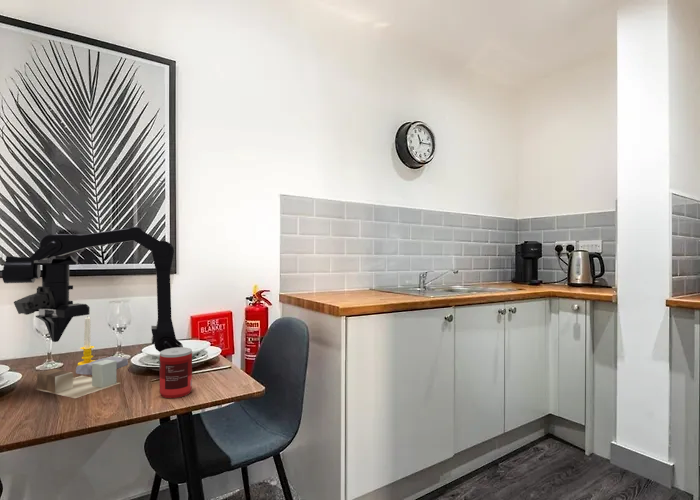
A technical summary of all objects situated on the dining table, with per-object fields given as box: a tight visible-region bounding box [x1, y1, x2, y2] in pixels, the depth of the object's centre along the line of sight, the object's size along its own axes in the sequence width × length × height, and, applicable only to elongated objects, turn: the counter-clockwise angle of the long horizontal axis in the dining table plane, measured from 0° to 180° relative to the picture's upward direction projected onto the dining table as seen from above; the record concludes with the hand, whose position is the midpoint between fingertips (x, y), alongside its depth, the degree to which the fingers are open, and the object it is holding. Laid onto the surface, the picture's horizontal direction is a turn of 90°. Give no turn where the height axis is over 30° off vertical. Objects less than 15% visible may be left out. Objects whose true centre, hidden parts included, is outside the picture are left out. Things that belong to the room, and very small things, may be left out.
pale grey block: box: [91, 359, 117, 388], centre depth 105 cm, size 4×4×6 cm
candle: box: [77, 315, 96, 366], centre depth 126 cm, size 5×5×16 cm
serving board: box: [35, 375, 121, 399], centre depth 104 cm, size 16×12×1 cm
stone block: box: [75, 356, 129, 376], centre depth 119 cm, size 12×5×10 cm
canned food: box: [159, 346, 193, 399], centre depth 101 cm, size 8×8×11 cm
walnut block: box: [36, 368, 74, 393], centre depth 102 cm, size 4×4×8 cm
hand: (55, 341), depth 102 cm, fingers closed
